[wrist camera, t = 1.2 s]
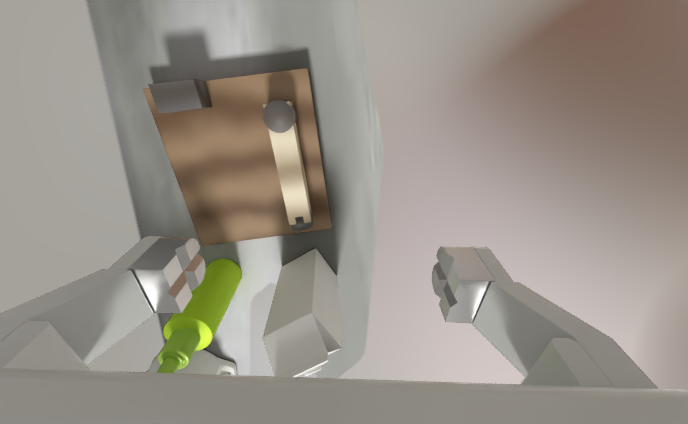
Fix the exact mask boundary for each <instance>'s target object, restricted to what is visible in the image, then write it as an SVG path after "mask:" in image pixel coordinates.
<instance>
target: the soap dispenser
mask: <svg viewBox="0 0 688 424" xmlns="http://www.w3.org/2000/svg"><path fill="white" fill-rule="evenodd" d="M241 278H242V271H241V269H240V267H239V266H238V265H237V264H236V263H235V262H233V261H231V260H228V259H217V260H214V261H212V262H211V263H210V264H209V265H208V266H207V268H206V271H205V275H204V279H203V281H202V282H201V284H200V286H198V287H197V288H195V289H194V290H192V291H191V292H192V298H191V299H190V301H189V303H188V304H187V306H186V307H185V309H184V310H183V312H182V313H174V314H173V315H172V316H171V318H170V319H169V321H168V322H167V323H166V325H165V327H164V330H163V333H164V337H165V339H166V340H167V342H166V344H165V345H164V347H163V348H162V350H161V351H160V353H159V355H158V361H159V363H160V364H161V366H160V367H159V369H158V371H157V372H156V373H175V371H176V370H179V369H182V368H184V367H186V366H187V365H188V363H189V362H190V360H191V358H192V356H193V354H194V352H195V351H198V350H202V349H204V348H206V347H207V346H208V345H209V344H210V343H211V341H212V339H213V337H214V335H215V333H216V331H217V328H218V326H219V324H220V322H221V320H222V318H223V316H224V314H225V312H226V310H227V308H228V305H229V303H230V301H231V299H232V297H233V295H234V293H235V291H236V289H237V287H238V284H239V282H240V280H241Z"/></svg>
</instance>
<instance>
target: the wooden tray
mask: <svg viewBox="0 0 688 424" xmlns="http://www.w3.org/2000/svg"><path fill="white" fill-rule="evenodd" d="M148 86H149V88H143V91H144V93H145V96H146V99H147V101H148V104H149V107H150V109H151V112H152V115H153V117H154V120H155V123H156V125H157V128H158V131H159V133H160V136H161V138H162V141H163V144H164V146H165V149H166V152H167V154H168V157H169V160H170V162H171V165H172V168H173V170H174V173H175V176H176V178H177V181H178V184H179V186H180V189H181V192H182V194H183V197H184V199H185V202H186V205H187V207H188V210H189V213H190V215H191V218H192V221H193V223H194V226H195V229H196V231H197V234H198V237H199V239H200V242H201V245H202V246H205V245H213V244H220V243H228V242H235V241H243V240H250V239H258V238H265V237H273V236H280V235H288V234H295V233H303V232H310V231H318V230H325V229H331V218H330V211H329V204H328V198H327V191H326V184H325V178H324V171H323V164H322V157H321V151H320V144H319V137H318V131H317V124H316V117H315V111H314V104H313V97H312V91H311V84H310V77H309V71H308V69H307V68H304V69H296V70H288V71H280V72H272V73H264V74H256V75H248V76H240V77H232V78H223V79H215V80H207V81H203V80H197V79H188V80H180V81H172V82H163V83H155V84H148ZM275 100H283V101H287V102H292V104H293V107H294V108H295V110H296V113H297V120H296V126H297V132H298V138H299V143H300V149H301V154H302V160H303V166H304V171H305V177H306V182H307V188H308V194H309V199H310V205H311V210H312V218H313V226H312V227H311V228H309V229H306V230H302V231H296V230H293V229H292V228H291V225H289V221H288V216H287V211H286V207H285V202H284V198H283V193H282V189H281V184H280V179H279V175H278V170H277V166H276V161H275V157H274V152H273V148H272V143H271V138H270V134H269V129H268V127H267V126H266V125H265V123H264V120H263V110H264V107H263V105H266V104H268V103H269V102H271V101H275Z"/></svg>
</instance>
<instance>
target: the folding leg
mask: <svg viewBox="0 0 688 424" xmlns="http://www.w3.org/2000/svg"><path fill="white" fill-rule="evenodd" d="M263 107H264V110H263V120H264V123H265V125H266V126H267V127H268V129H269V134H270V138H271V143H272V148H273V152H274V157H275V161H276V166H277V170H278V175H279V179H280V184H281V189H282V193H283V198H284V202H285V207H286V211H287V216H288V221H289V225H291V228H292V229H293V230H296V231H302V230H306V229H309V228H311V227H312V226H313V218H312V210H311V205H310V199H309V194H308V188H307V182H306V177H305V171H304V166H303V160H302V154H301V149H300V143H299V138H298V132H297V126H296V120H297V113H296V110H295V108H294V107H293V104H292V102H287V101H283V100H275V101H271V102H269V103H268V104H266V105H263Z"/></svg>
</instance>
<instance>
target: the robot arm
mask: <svg viewBox="0 0 688 424" xmlns="http://www.w3.org/2000/svg"><path fill="white" fill-rule="evenodd" d="M199 250H200V246H199V243H198V240H196V239H194V238H182V237H161V236H148V237H144V238H143V239H142V240H141V241H139V242H138V243H137V244H136V245H135V246H134V247H133V248H131V249H130V250H129V251H128V252H127V253H126V254H125V255H124V256H122V257H121V258H120V259H119V260H118V261H117V262H116V263H114V264H113V265H112V266H111V267H110V268H109V269H102V270H100V271H97V272H95V273H93V274H90V275H88V276H86V277H83V278H81V279H79V280H76V281H74V282H72V283H69V284H67V285H65V286H63V287H60V288H58V289H56V290H53V291H51V292H49V293H46V294H44V295H42V296H40V297H37V298H35V299H33V300H30V301H28V302H26V303H23V304H21V305H19V306H16V307H14V308H12V309H10V310H7V311H5V312H3V313H0V424H688V390H675V389H658V387H657V386H656V385H655V384H654V383H653V382H652V381H651V380H650V379H649V378H648V377H647V376H646V374H645V373H644V372H643V371H642V370H641V369H640V368H639V367H638V366H637V365H636V364H635V363H634V361H633V360H632V359H631V358H630V357H629V356H628V355H627V354H626V353H625V352H624V351H623V350H622V349H621V347H620V346H619V345H618V344H617V343H616V342H615V341H614V340H613V339H612V338H610V337H609V336H607V335H605V334H604V333H602V332H600V331H599V330H597V329H595V328H594V327H592V326H590V325H589V324H587V323H585V322H584V321H582V320H580V319H579V318H577V317H575V316H574V315H572V314H570V313H569V312H567V311H566V310H564V309H562V308H561V307H558V306H557V305H556V304H554V303H552V302H550V301H549V300H547V299H545V298H544V297H542V296H541V295H539V294H537V293H535V292H534V291H532V290H531V289H529V288H527V287H526V286H524V285H522V284H521V283H516V282H513V280H512V279H511V277H510V276H509V275H508V273H507V272H506V271H505V269H504V268H503V266H502V265H501V264H500V262H499V261H498V260H497V258H496V257H495V256H494V254H493V253H492V251H491V250H490V249H489V248H487V247H440V248H439V250H438V252H437V258H438V261H439V262H438V263H437V264H436V265H434V268H433V271H432V284H433V289H434V292H435V294H436V295H438V296H439V297H440V298H441V300H440V303H439V306H440V308H441V311H442V314H443V316H444V319H445V322H456V323H472V324H473V326H474V327H475V328H476V329H477V330H478V331H479V332H480V333H481V334H482V335H483V336H484V337H485V338H486V339H487V340H488V341H489V342H490V343H491V344H492V345H493V346H494V347H495V348H496V349H497V350H498V351H499V352H500V353H501V354H502V355H503V356H504V357H505V358H506V359H507V360H508V361H509V362H510V363H511V364H512V365H513V366H514V367H515V368H516V369H517V370H518V371H519V372H520V373H521V374H523V376H524V377H525V378H524V380H523V381H522V382H521V384H519V385H517V384H489V383H488V384H486V383H458V382H457V383H456V382H427V381H426V382H425V381H396V380H365V379H364V380H363V379H334V378H302V377H272V376H270V377H269V376H242V375H237V369H236V365H235V364H234V363H233V362H230V361H227V360H223V359H220V358H218V357H216V356H215V355H213V354H211V353H209V352H207V351H205V350H198V351H195V352H194V354H193V356H192V358H191V360H190V362H189V363H188V365H187V366H186V367H184V368H182V369H179V370H176V371H175V373H156V372H157V371H158V369H159V367H160V366H161V364H160V363H159V361H158V355H159V354H158V355H157V356H156V357H155V358H154V360H153V362H152V364H151V367H150V369H149V370H148V371H146V372H121V371H91V370H90V369H89V368H88V367H87V366H86V364H88V363H89V362H91V361H92V360H93V359H95V358H96V357H98V356H99V355H100V354H102V353H103V352H104V351H106V350H107V349H108V348H110V347H111V346H112V345H114V344H115V343H116V342H118V341H119V340H120V339H122V338H123V337H124V336H126V335H127V334H129V333H130V332H131V331H132V330H134V329H135V328H137V327H138V326H139V325H140V324H142V323H143V322H145V321H146V320H147V319H149V318H150V317H151V316H153V315H154V313H182V312H183V310H184V309H185V307H186V306H187V304H188V303H189V301H190V299H191V298H192V292H191V291H192V290H194V289H195V288H197V287H198V286H200V284H201V282H202V281H203V279H204V275H205V271H206V266H205V261H204V258H203V257H201V256H200V255H199V254H198V251H199Z"/></svg>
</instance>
